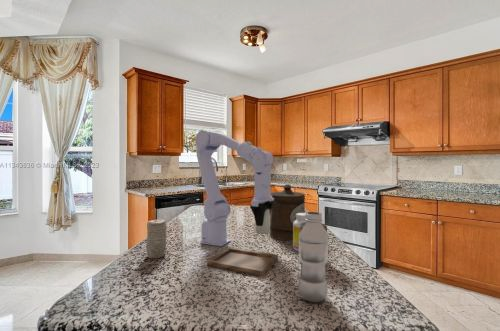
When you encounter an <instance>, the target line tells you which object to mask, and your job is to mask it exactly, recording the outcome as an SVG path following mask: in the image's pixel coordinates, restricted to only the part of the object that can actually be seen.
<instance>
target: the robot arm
mask: <svg viewBox="0 0 500 331" xmlns="http://www.w3.org/2000/svg"><path fill="white" fill-rule="evenodd" d="M194 141H195V145H196V158H197V163H198V165H199V170H200V174H201V179H202V182H203V186H204V189H205V194H206V199H205V201H203V207H204V208H203V213H204V217H205V219H204V220H203V221H202V223H201V227H200V228H201V241H200V244H203V245H210V246H211V245H212V246H214V247H215V246H216V247H222V246H225V245H226V244H228V243H230V242H231V241H232V240H231V239H230V238H228V236H227V235H228V232H227V230H228V224H227V223H228V222H227V221H228V218H229V217H228V216H230V214H231V204H229V203H228V201H227V198H226V197H225V196H224V195H223V193H221V190H220V186H219V181H218V177H217V175H216V170H215V166H214V162H213V159H212V155H213V154H214V153H215V152H216V151H217V150H218V149H219V148H220V147H221V146H225V147H227V148H229V149H231V150H233V151H236V153H237V156H238V157H240V158H242V159H244V160H246V161H247V162H249V163H250V164H252V166H253V171H254V178H253V179H254V185H253V186H254V189H253V190H254V192H253V193H254V194H253V199H252V200H251V204H250V205H249V208H250V209H251V212H252V214H253V217H254V222H256V226H263V221H264V214H265V211H266V209H270V212H271V209H272V207H273V205H274V202H271V201H273V200H274V198H272V195H271V193H272V190H271V189H272V188H271V187H272V179H271V178H272V172H271V171H272V165H273V163H274V161H275V160H274V159H275V158H274V155H273V153H271V152H270V151H269V150H263V148H262V147H260V146H258V147H257V146H254V145H253V144H252V142H250V141H243V142H239V141H237V140H236V139H234V138H232V137H230V136H229V135H227V134H226V133H222V132H220V131H212V130H206V129H200V130H199V131H198V132H197V134H196V135H195V138H194Z"/></svg>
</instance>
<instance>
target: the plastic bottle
mask: <svg viewBox="0 0 500 331" xmlns="http://www.w3.org/2000/svg"><path fill="white" fill-rule="evenodd" d="M305 213H306V214H305V221H306V224H305V225H304V227H303V228H302V229H301V231H300V234H299V239H300V247H301V258H302V259H301V263H300V266H301V267H300V273H299V277H298V278H299V279H298V285H297V288H298V289H297V290H298V294H299V295H300V297H301V298H302V299H303V300H305V301H307V302H310V303H321V302H323V301H324V300H325V299H326V297H327V295H328V282H327V277H326V265H325V259H326V250H327V244H328V245H329V233H328V231H327V232H326V230H325V228H324V227H323V226H322V224H323V223H322V222H323V216H322V212H317V211H305ZM321 223H322V224H321Z"/></svg>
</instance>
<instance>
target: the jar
mask: <svg viewBox="0 0 500 331" xmlns="http://www.w3.org/2000/svg"><path fill="white" fill-rule="evenodd" d="M305 224H306V222H305V223H302V224H301V225H300V231H301V229H302V228H303V227H304V225H305ZM321 224H322V226H323V227H324V228H325V230H326V232H327V233H328V225H326V224H324V223H322V222H321ZM299 234H300V233H299ZM328 252H329V243H328V244H327V250H326V259H325V266H326V265H327V264H328V263H329V254H328ZM301 259H302V258H301V247H300V239H299V251H298V263H300V264H301Z"/></svg>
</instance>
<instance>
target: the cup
mask: <svg viewBox="0 0 500 331" xmlns="http://www.w3.org/2000/svg"><path fill="white" fill-rule="evenodd" d="M254 222H255V221H254ZM254 226H255V229H254V231H255V234H258V235H268V234H270V209H266V211H265V214H264V221H263V226H256V222H255V223H254Z"/></svg>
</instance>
